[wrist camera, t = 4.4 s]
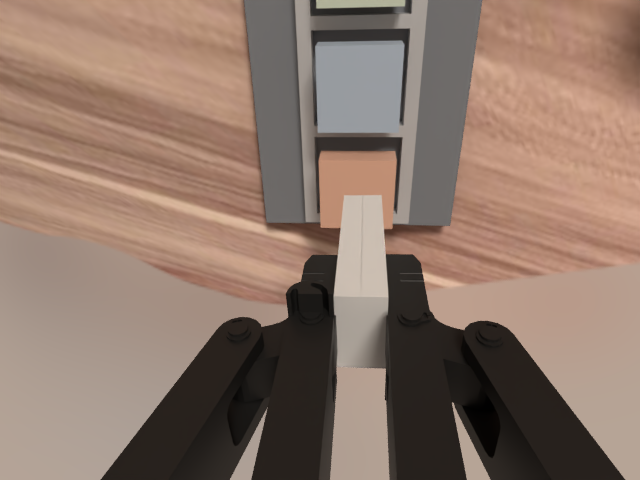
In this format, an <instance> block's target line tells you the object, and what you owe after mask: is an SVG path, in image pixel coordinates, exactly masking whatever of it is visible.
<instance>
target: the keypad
mask: <svg viewBox="0 0 640 480" xmlns="http://www.w3.org/2000/svg"><path fill="white" fill-rule="evenodd" d="M244 5H245V15H246V24H247V34H248V44H249V54H250V64H251V74H252V83H253V93H254V103H255V113H256V123H257V133H258V142H259V152H260V162H261V172H262V182H263V192H264V201H265V211H266V221H267V223H321V222H320V188H319V157H320V153H321V151H395V154H396V159H397V165H396V180H395V195H394V210H393V225H432V226H450V222H451V215H452V208H453V201H454V194H455V187H456V180H457V173H458V166H459V159H460V152H461V145H462V138H463V131H464V124H465V117H466V110H467V103H468V96H469V89H470V82H471V75H472V68H473V61H474V54H475V47H476V40H477V34H478V27H479V20H480V13H481V6H482V0H405V6H397V7H357V8H317V9H316V0H244ZM347 41H403V43H404V59H403V74H402V89H401V104H400V119H399V133H318V121H317V88H316V55H315V46H316V44H317V43H318V42H347Z"/></svg>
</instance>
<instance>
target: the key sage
mask: <svg viewBox="0 0 640 480" xmlns="http://www.w3.org/2000/svg"><path fill="white" fill-rule="evenodd" d="M397 6H405V0H316V9H317V8H357V7H397Z"/></svg>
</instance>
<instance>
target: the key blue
mask: <svg viewBox="0 0 640 480" xmlns="http://www.w3.org/2000/svg"><path fill="white" fill-rule="evenodd" d="M315 55H316V88H317V121H318V133H399V119H400V104H401V89H402V74H403V59H404V43H403V41H347V42H318V43H317V44H316V46H315Z"/></svg>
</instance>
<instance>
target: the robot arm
mask: <svg viewBox="0 0 640 480" xmlns="http://www.w3.org/2000/svg"><path fill="white" fill-rule="evenodd" d="M286 299H287V308H288V318H287V319H286V320H284V321H282V322H280V323H277V324H274V325H269V326H265V327H261V324H260V323H258V321H256V320H254V319H252V318H248V317H239V318H234V319H231V320H229V321H227V322H225V323H223V324H222V325H221V326H220V327H219V328H218V329H217V330H216V332H215V333H214V334H213V335H212V337H211V338H210V339H209V341H208V342H207V343H206V345H205V346H204V347H203V348H202V350H201V351H200V352H199V353H198V355H197V356H196V357H195V359H194V360H193V361H192V362H191V364H190V365H189V366H188V368H187V369H186V370H185V372H184V373H183V374H182V375H181V377H180V378H179V379H178V381H177V382H176V383H175V384H174V386H173V387H172V388H171V390H170V391H169V392H168V393H167V395H166V396H165V397H164V399H163V400H162V401H161V403H160V404H159V405H158V406H157V408H156V409H155V410H154V412H153V413H152V414H151V416H150V417H149V418H148V419H147V421H146V422H145V423H144V425H143V426H142V427H141V428H140V430H139V431H138V432H137V434H136V435H135V436H134V437H133V439H132V440H131V441H130V443H129V444H128V445H127V447H126V448H125V449H124V450H123V452H122V453H121V454H120V456H119V457H118V458H117V459H116V461H115V462H114V463H113V465H112V466H111V467H110V468H109V470H108V471H107V472H106V474H105V475H104V476H103V477H102V479H101V480H230V478H231V476H232V474H233V472H234V470H235V468H236V466H237V464H238V463H239V460H240V459H241V457H242V455H243V453H244V451H245V449H246V447H247V445H248V443H249V441H250V440H251V437H252V436H253V434H254V432H255V430H256V428H257V426H258V424H259V422H260V420H261V418H262V417H263V415H264V413H265V411H266V409H267V407H268V409H267V413H266V417H265V422H264V427H263V431H262V435H261V440H260V444H259V448H258V453H257V457H256V462H255V466H254V471H253V475H252V480H330V470H331V455H332V442H333V441H332V440H333V427H334V413H335V399H336V384H337V375H336V366H337V367H357V368H386V384H385V400H386V405H387V426H388V449H389V450H388V452H389V474H390V480H467V479H466V474H465V468H464V463H463V458H462V453H461V448H460V443H459V438H458V433H457V427H456V423H455V418H454V412H453V408H452V402H453V403H454V405H455V408H456V410H457V412H458V414H459V417H460V419H461V420H462V423H463V424H464V427H465V429H466V431H467V433H468V435H469V437H470V439H471V441H472V443H473V444H474V447H475V449H476V451H477V453H478V455H479V457H480V459H481V461H482V463H483V465H484V467H485V469H486V471H487V473H488V475H489V477H490V479H491V480H625V479H624V478H623V476H622V475H621V474H620V472H619V471H618V470H617V469H616V467H615V466H614V465H613V463H612V462H611V461H610V459H609V458H608V457H607V455H606V454H605V453H604V451H603V450H602V449H601V448H600V446H599V445H598V444H597V442H596V441H595V440H594V439H593V437H592V436H591V435H590V433H589V432H588V431H587V429H586V428H585V427H584V425H583V424H582V423H581V422H580V420H579V419H578V418H577V416H576V415H575V414H574V412H573V411H572V410H571V409H570V407H569V406H568V405H567V403H566V402H565V401H564V399H563V398H562V397H561V396H560V394H559V393H558V392H557V390H556V389H555V388H554V386H553V385H552V384H551V383H550V381H549V380H548V379H547V377H546V376H545V375H544V373H543V372H542V371H541V369H540V368H539V367H538V366H537V364H536V363H535V362H534V360H533V359H532V358H531V356H530V355H529V354H528V352H527V351H526V350H525V349H524V347H523V346H522V345H521V343H520V342H519V341H518V340H517V338H516V337H515V335H514V334H513V333H512V332H511V331H510V330H509V329H507V328H506V327H504V326H502V325H500V324H498V323H494V322H490V321H477V322H474V323H470V324H469V325H468V326H467V327H466V328H465V330H460V329H456V328H452V327H450V326H446V325H444V324H442V323H440V322H439V321H438V320H436V319H435V318H434V315H433V314H432V312H430V310H429V305H428V300H427V295H426V289H425V284H424V279H423V274H422V268H421V263H420V262H419V261H418V260H417V258H416V257H415V256H414V255H399V254H386V253H385V238H384V223H383V209H382V195H344V201H343V211H342V221H341V230H340V240H339V249H338V255H312V256H311V257H310V258H309V259H308V260H307V261H306V262H305V265H304V270H303V274H302V279H301V282H299V283H296V284H294V285H293V286H291V287H290V288H289V289H288V291H287V293H286Z"/></svg>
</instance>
